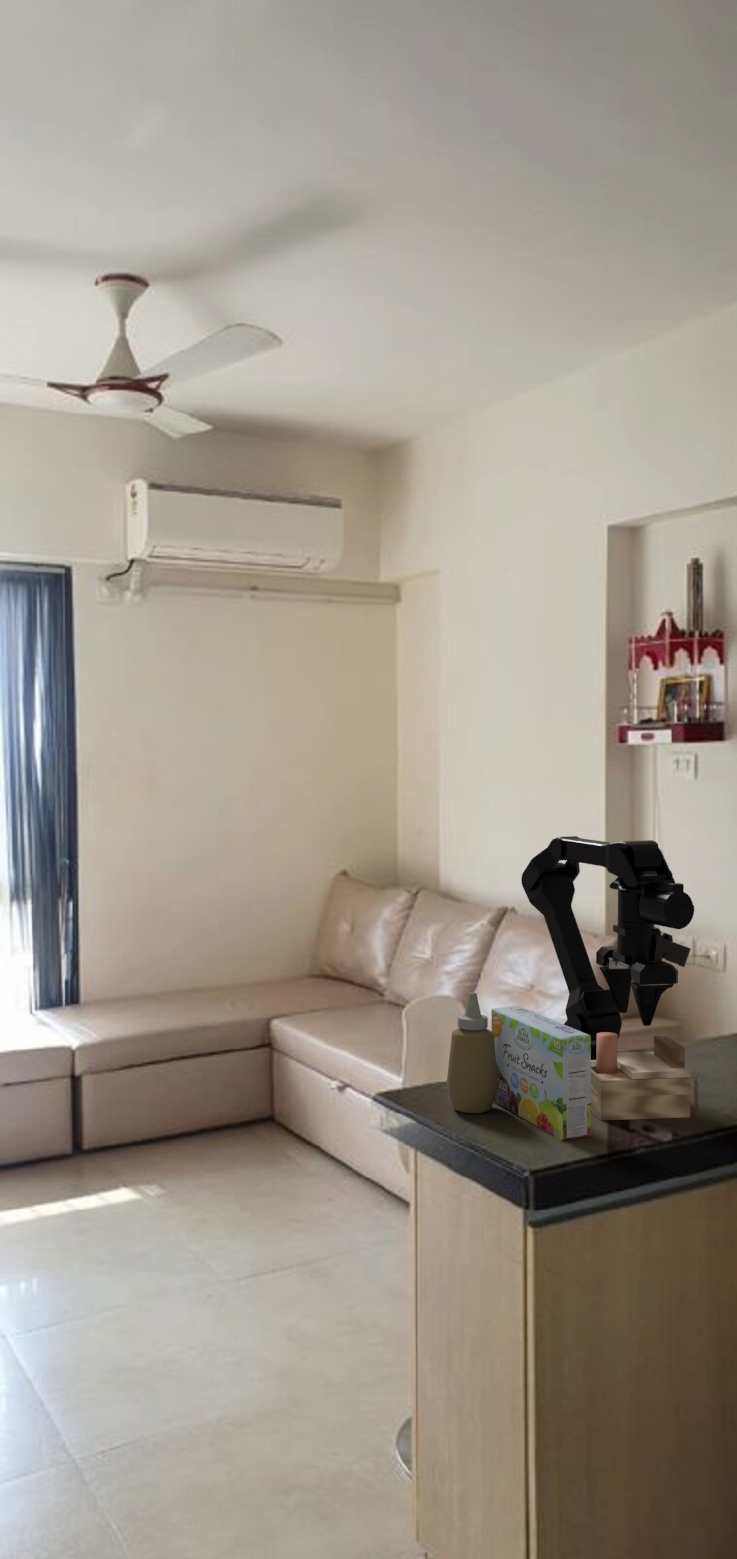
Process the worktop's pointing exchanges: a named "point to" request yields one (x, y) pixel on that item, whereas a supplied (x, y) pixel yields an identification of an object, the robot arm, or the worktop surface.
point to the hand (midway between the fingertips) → (634, 1019)
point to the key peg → (606, 1053)
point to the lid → (655, 1061)
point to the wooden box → (638, 1096)
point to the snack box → (543, 1071)
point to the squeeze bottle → (472, 1062)
